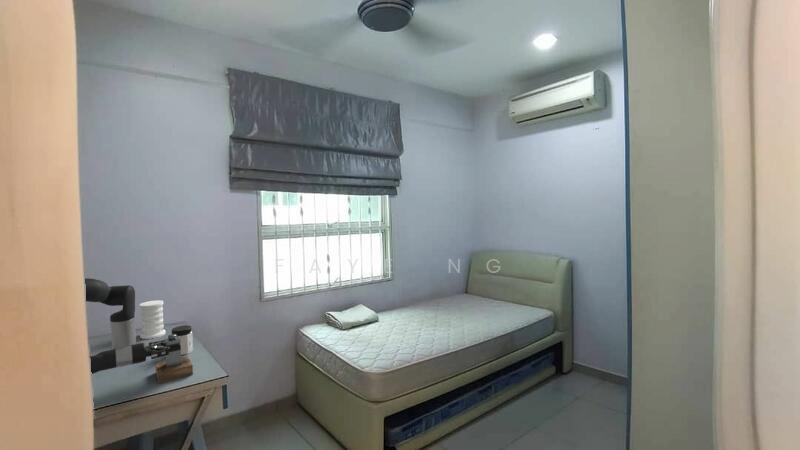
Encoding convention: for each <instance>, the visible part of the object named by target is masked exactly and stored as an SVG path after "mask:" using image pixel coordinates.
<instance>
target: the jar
mask: <svg viewBox="0 0 800 450" xmlns="http://www.w3.org/2000/svg"><path fill="white" fill-rule="evenodd" d="M171 334H176V335H177V336H179V338H180V344H181V356H187V355H189V354H190V353H191V352H193V351H194V342H193V341H194V340H193V336H194V334H193V331H192V326H190V325H187V324H185V325H179V326H176V327H173V328H171Z"/></svg>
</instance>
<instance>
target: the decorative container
mask: <svg viewBox="0 0 800 450" xmlns="http://www.w3.org/2000/svg"><path fill="white" fill-rule="evenodd" d="M163 305H164V300H161V299H160V300H157V299H156V300H149V301H145V302H141V303H140V304H139V308H140V314H141V317H140V320H141V323H140V324H141V329H140V330H141V332H142V333H141V334H139V337H140V339H141V338H142V339H141V340H152V338H153V339H157V338H160V337H164V336H165V335H166V330H165V329H164V327H165V325H164V312H163V311H164V307H163Z"/></svg>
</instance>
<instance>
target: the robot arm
mask: <svg viewBox="0 0 800 450" xmlns="http://www.w3.org/2000/svg"><path fill="white" fill-rule="evenodd" d="M85 284H86V301H85V302H89V303H101V304H104V305H105V306H111V307H114V306H117V307H118V306H122V309H121V310H119V311H116V312H114V313H112V314H110V316H109V323H110V325H109V327H110V339H111V349H108V350H104V351H100V352H98V353H97V354H95V355H92V356H91V355H90V356H89V357H90V358H91V372H92V374H91V375H94V374H96V373H98V372H101V371H106V370H110V369H111V370H112V369H115V368H123V367H127V366H132V365H136V364H141V363H144V362H146V361H147V357H150V358H151V360H153V359H154V360H155V359H158V358H163V357H166V355H169V353H170V352H173V351H178V350H181V345H180V344H179V345H174V346H170V347H165V339H162V340H158V341H156V340H155V341H153V342H151V341H150V342H149V343H148V345H146V344H145V342H140V343H137V337H136V335H137V334H136V319H135V318H136V317H135V315H136V314H135V313H136V291H135V287H133V286H132V285H112V286H109V285H108V284H107V283H106V282H105V281H103V280H100V279H96V278H88V277H87V278H86V277H85Z"/></svg>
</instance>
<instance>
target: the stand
mask: <svg viewBox="0 0 800 450" xmlns="http://www.w3.org/2000/svg"><path fill="white" fill-rule="evenodd" d="M181 361H182V365H179V366H175V367H171V368H166V365H165V362H166V360H163V361H160V362H156V363H155V374H156V377H157V382H158V384H163V383H166V382H169V381H172V380H173V381H174V380H177V379H180V378H185V377H189V376H192V375H193V374H194V370H193V367H194V365H193V363H192V362H191V359H190V357H189V356H188V355H184V356H181Z"/></svg>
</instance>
